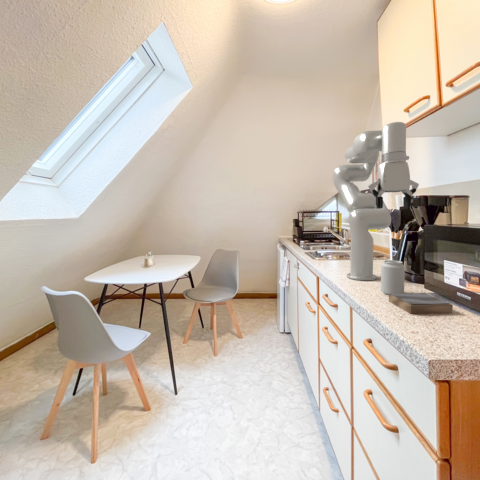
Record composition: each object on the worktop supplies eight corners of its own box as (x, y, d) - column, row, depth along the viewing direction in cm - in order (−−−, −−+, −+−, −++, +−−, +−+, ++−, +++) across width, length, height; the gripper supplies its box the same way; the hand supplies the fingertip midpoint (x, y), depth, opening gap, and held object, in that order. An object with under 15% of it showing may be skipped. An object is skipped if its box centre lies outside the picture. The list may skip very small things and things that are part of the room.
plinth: (388, 302, 92) (388, 293, 91) (424, 302, 92) (425, 292, 91) (410, 315, 80) (410, 304, 80) (452, 314, 80) (452, 303, 79)
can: (407, 296, 96) (408, 262, 95) (384, 296, 98) (384, 262, 97) (399, 291, 103) (400, 259, 102) (378, 290, 105) (378, 259, 104)
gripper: (411, 161, 101) (411, 208, 102) (364, 162, 101) (364, 209, 102) (425, 156, 94) (424, 206, 95) (374, 157, 94) (374, 208, 95)
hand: (393, 208), depth 99 cm, fingers open, 9 cm apart
